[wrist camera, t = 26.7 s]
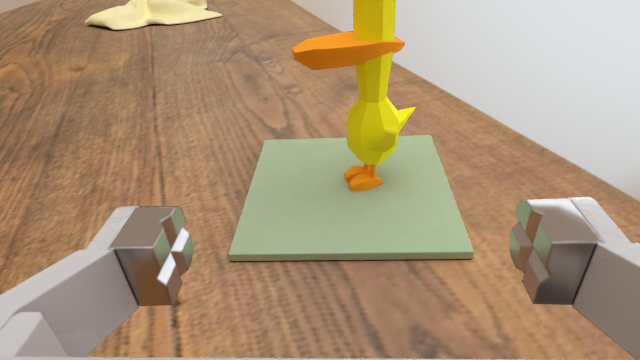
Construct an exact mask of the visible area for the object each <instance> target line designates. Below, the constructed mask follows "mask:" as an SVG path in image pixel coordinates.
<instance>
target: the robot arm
mask: <svg viewBox="0 0 640 360" xmlns="http://www.w3.org/2000/svg"><path fill="white" fill-rule="evenodd" d="M515 214H516V216H517V218H518V220H519V221H520V222H518V223H517V224H516V225H515V226H514V227H513V228H512V229H511V234H510V239H509V242H510V253H511V257H512V260H513V263H514V265H515V267H516V268H518V269H519V270H520V271H522V272H523V273H524V277H523V281H522V282H523V284H524V286H525V288H526V290H527V292H528V294H529V297H530V299H531V301H532V303H533V304H559V305H573V306H572V307H573V308H575V309H576V310H577V311H578V312H580V313H581V314H582V315H583V316H584V317H586V318H587V319H588V320H589V321H590V322H592V323H593V324H594V325H595V326H596V327H598V328H599V329H600V330H601V331H602V332H604V333H605V334H606V335H607V336H608V337H610V338H611V339H612V340H613V341H614V342H616V343H617V344H618V345H619V346H620V347H622V348H623V349H624V350H625V351H626V352H628V353H629V354H630V355H631V356H632V357H634V358H635V359H636V360H640V243H631V242H630V241H629V240H628V238H627V237H626V236H625V235H624V234H623V233H622V231H621V230H620V229H619V228H618V227H617V225H616V224H615V223H614V222H613V221H612V220H611V218H610V217H609V216H608V215H607V214H606V213H605V211H604V210H603V209H602V208H601V207H600V205H599V204H598V203H597V202H596V201H595V200H594V199H592V198H590V197H575V198H565V199H531V200H521V201H520V202H519V204H518V206H517V209H516V213H515ZM185 220H186V219H185V216H184V213H183V210H182V208H180V207H179V206H140V207H139V206H121V207H118V208H116V209H115V210H114V211H113V213H112V214H111V216H110V217H109V218H108V220H107V221H106V222H105V224H104V225H103V226H102V228H101V229H100V230H99V232H98V233H97V234H96V236H95V237H94V238H93V240H92V241H91V242H90V244H89V245H88V246H87V248H86V249H85V250H78V251H76V252H74V253H73V254H71V255H69V256H67V257H66V258H64V259H62V260H60V261H59V262H57V263H55V264H53V265H52V266H50V267H48V268H46V269H45V270H43V271H41V272H39V273H38V274H36V275H34V276H32V277H31V278H29V279H27V280H25V281H24V282H22V283H20V284H18V285H17V286H15V287H13V288H11V289H10V290H8V291H6V292H4V293H3V294H1V295H0V360H525V359H369V358H183V357H86V356H87V355H88V354H89V353H90V352H91V351H92V350H93V349H95V348H96V347H97V346H98V345H99V344H100V343H101V342H102V341H103V340H104V339H105V338H107V337H108V336H109V335H110V334H111V333H112V332H113V331H114V330H115V329H116V328H117V327H119V326H120V325H121V324H122V323H123V322H124V321H125V320H126V319H127V318H128V317H129V316H131V315H132V314H133V313H134V312H135V311H136V310H137V309H138V308H139V307H138V306H158V305H174V302H175V300H176V298H177V295H178V293H179V290H180V288H181V286H182V281H181V278H180V276H181V275H182V274H184V273H185V272H186V271H187V270H188V269H189V266H190V264H191V261H192V253H193V245H192V239H191V235H190V233H189V232H188V231H187V230H185V229H184V228H183V227H182V226H183V224H184V222H185Z"/></svg>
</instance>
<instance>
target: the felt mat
mask: <svg viewBox="0 0 640 360" xmlns="http://www.w3.org/2000/svg"><path fill="white" fill-rule="evenodd" d="M357 165H359V166H364V163H363V162H361V161H359V160H358V159H357V157H356V156H355V155H354V154H353V152H352V151H351V150H350V149H349V148H348V146H347V138H319V139H285V140H265V141H264V144H263V147H262V151H261V154H260V157H259V160H258V163H257V166H256V169H255V172H254V175H253V179H252V182H251V185H250V188H249V191H248V194H247V197H246V200H245V203H244V206H243V210H242V213H241V216H240V219H239V222H238V225H237V228H236V231H235V234H234V238H233V241H232V244H231V247H230V250H229V253H228V256H229V260H230V261H300V260H402V259H472V258H473V254H474V250H473V248H472V245H471V242H470V240H469V237H468V234H467V232H466V229H465V226H464V224H463V221H462V218H461V215H460V213H459V210H458V207H457V205H456V202H455V199H454V197H453V194H452V191H451V188H450V186H449V183H448V180H447V178H446V175H445V172H444V170H443V167H442V164H441V162H440V159H439V156H438V153H437V151H436V148H435V145H434V143H433V140H432V137H431V135H420V136H398V146H397V147H396V149H395V150H394V151H393V152H392V153H391V154H390V156H389V157H388V158H387V159H386V160H385V161H383V162H382V163H380V164H378V165H377V166H376V174H377V176H378V177H379V178H380V179H381V181H382V185H379V186H377V187H374V188H372V189H369V190H366V191H355V192H352V190H351V189H350V188H349V185H348V183H349V182H346V180H345V178H344V175H343V174H344V173H345V172H346V171H347V170H348V169H349V168H351V167H352V166H357Z"/></svg>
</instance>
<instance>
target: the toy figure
mask: <svg viewBox="0 0 640 360" xmlns="http://www.w3.org/2000/svg"><path fill="white" fill-rule="evenodd" d="M353 11H354V12H353V20H354V31H349V32H342V33H336V34H331V35H325V36H319V37H315V38H311V39H307V40H304V41H303V42H301V43H300V44H298V45H296V46H295V47H293V48H292V52H293V56H294V59H295V60H296V61H298V62H300V63H302V64H303V65H305V66H307V67H308V68H310V69H312V70H320V69H330V68H337V67H345V66H352V65H356V73H357V80H358V88H359V95H360V97H359V98H358V99H357V101H356V102H355V103H354V105H353V106H352V107H351V108H350V110H349V111H348V114H347V146H348V148H349V149H350V150H351V151H352V152H353V154H354V155H355V156H356V157H357V159H358V160H359V161H361V162H363V163H364V166H359V165H357V166H352V167H351V168H349V169H348V170H347V171H346V172H345V173H344V174H343V175H344V178H345V180H346V182H349V183H348V185H349V188H350V189H351V190H352V192H355V191H366V190H369V189H372V188H374V187H377V186H379V185H382V181H381V179H380V178H379V177H378V176H377V174H376V166H377V165H378V164H380V163H382V162H383V161H385V160H386V159H387V158H388V157H389V156H390V154H391V153H392V152H393V151H394V150H395V149H396V147H397V146H398V133H399V131H400V130H401V128H402V127H403V126H404V124H405V123H406V121H407V120H408V118H409V117H410V115H411V114H412V112H413V111H414V109H415V108H416V107H413V108H408V109H402V110H396V108H395V107H394V106H393V104H392V103H391V102H390V100H389V99H388V98H387V96H386V95H387V89H388V82H389V75H390V69H391V62H392V56H393V54H394V53H396V52H398V51H400V50H401V49H402V48H403V46H404V42H403V41H401V40H399V39H397V38H396V37H394V25H395V0H353Z"/></svg>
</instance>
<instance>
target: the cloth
mask: <svg viewBox="0 0 640 360" xmlns="http://www.w3.org/2000/svg"><path fill="white" fill-rule="evenodd" d="M206 8H208V7H207V3H206V1H205V0H131V1H129V2H128V3H127V4H126V5H125V6H117V7H114V8H110V9H107V10H104V11H102V12H99V13H97V14H94V15H92V16H90V17H89V18H88V19H87V20H86V21H85V23H86V24H91V25H98V26H104V27H109V28H111V29H114V30H115V29H116V30H124V29H134V28H139V27H143V26H146V25H149V24H167V25H172V24H181V23H188V22H195V21H200V20H205V19H210V18H215V17H220V16H223V15H222V14H220V13H216V12H212V11H207V10H205V9H206Z"/></svg>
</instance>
